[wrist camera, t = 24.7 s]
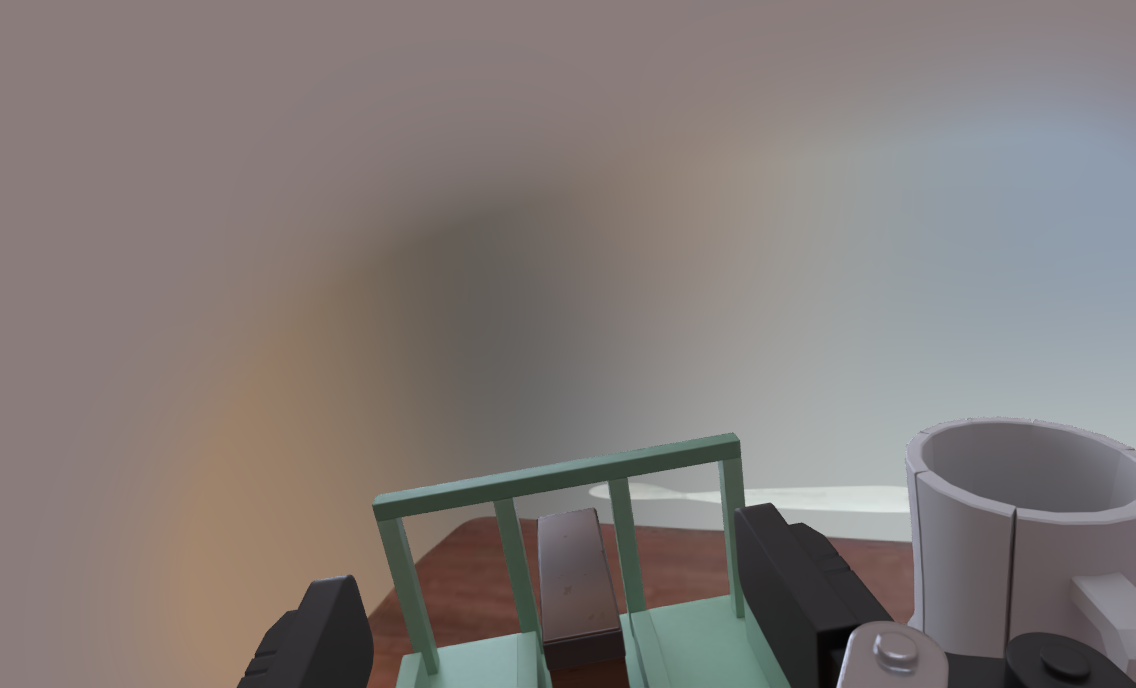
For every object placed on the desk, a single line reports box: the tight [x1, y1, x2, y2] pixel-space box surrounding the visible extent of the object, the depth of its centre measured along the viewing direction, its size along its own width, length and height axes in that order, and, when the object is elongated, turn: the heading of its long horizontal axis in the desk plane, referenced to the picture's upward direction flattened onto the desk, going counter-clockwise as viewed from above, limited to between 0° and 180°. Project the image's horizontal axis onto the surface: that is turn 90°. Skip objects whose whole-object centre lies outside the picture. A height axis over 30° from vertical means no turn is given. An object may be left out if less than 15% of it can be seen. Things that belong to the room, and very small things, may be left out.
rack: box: [372, 433, 791, 688], centre depth 27 cm, size 16×20×12 cm
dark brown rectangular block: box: [537, 508, 630, 688], centre depth 27 cm, size 8×3×10 cm, turn 4°
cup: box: [905, 417, 1136, 683], centre depth 27 cm, size 10×9×12 cm
